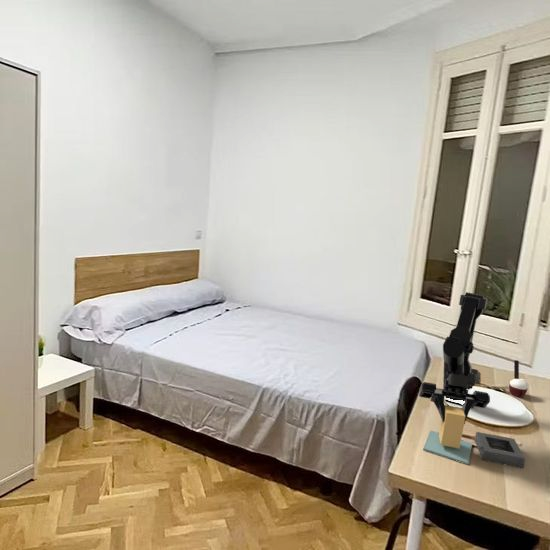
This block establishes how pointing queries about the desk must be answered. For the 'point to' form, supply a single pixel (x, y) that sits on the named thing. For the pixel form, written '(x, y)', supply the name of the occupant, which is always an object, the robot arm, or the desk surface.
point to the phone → (476, 373)
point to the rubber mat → (447, 448)
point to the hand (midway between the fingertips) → (453, 423)
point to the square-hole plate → (499, 456)
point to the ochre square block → (452, 427)
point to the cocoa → (518, 383)
